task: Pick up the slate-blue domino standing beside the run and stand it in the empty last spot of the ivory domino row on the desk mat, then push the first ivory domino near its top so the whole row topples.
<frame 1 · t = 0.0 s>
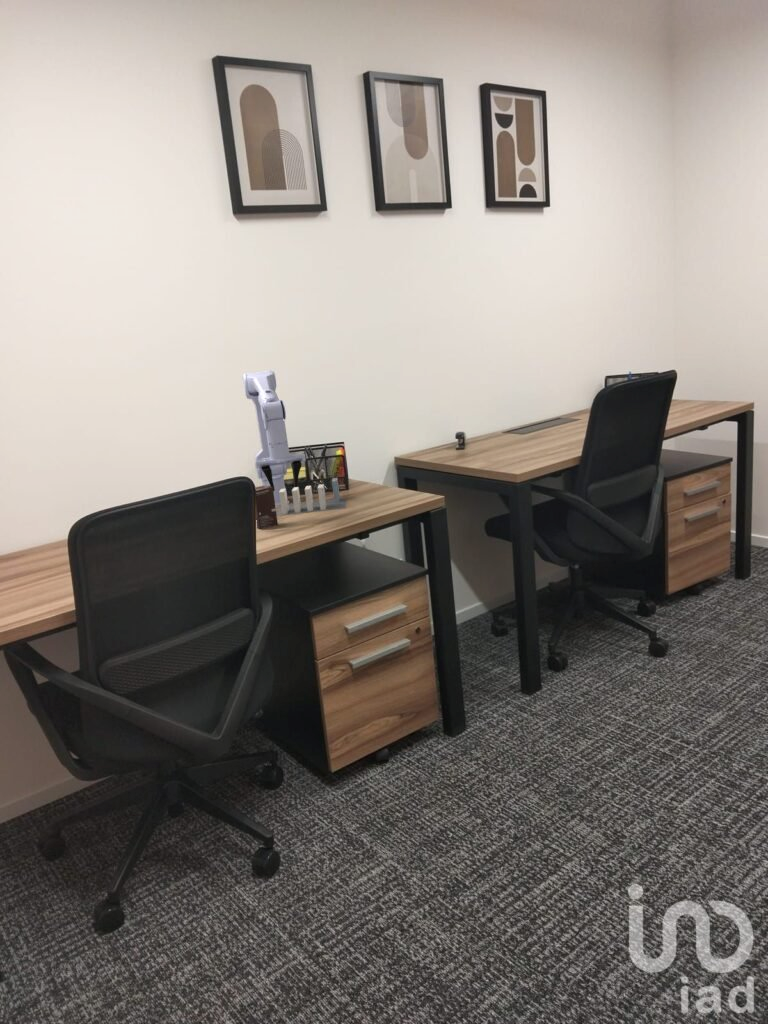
hand: (284, 488, 217), 10 cm above the table, tool pointing down, fingers open, 6 cm apart
tile 2: (298, 510, 231), resting on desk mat
end tile: (337, 500, 239), resting on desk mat
box: (267, 527, 216), on the table, touching gripper
tile 4: (323, 507, 231), resting on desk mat
tile 1: (285, 512, 231), resting on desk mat
tile 3: (310, 509, 231), resting on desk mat
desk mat: (312, 507, 234), on the table
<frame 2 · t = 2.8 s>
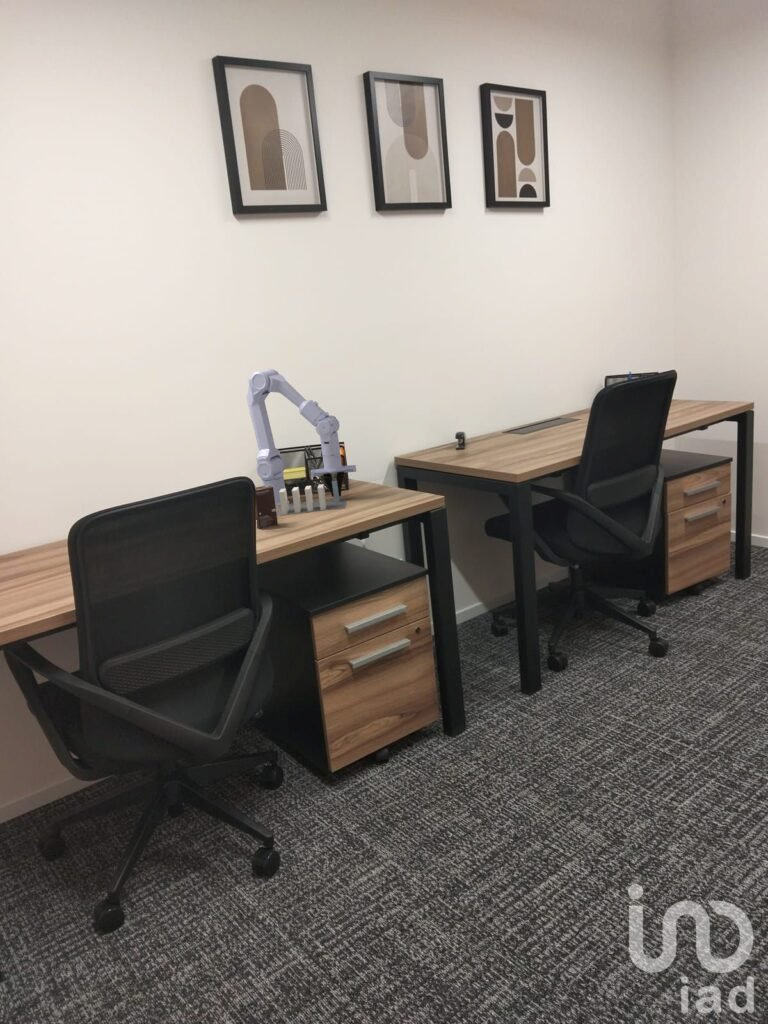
hand: (336, 495, 238), 2 cm above the table, tool pointing down, fingers closed on end tile, 2 cm apart
end tile: (337, 500, 239), resting on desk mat, touching gripper
box: (267, 528, 216), on the table
everything else where it was.
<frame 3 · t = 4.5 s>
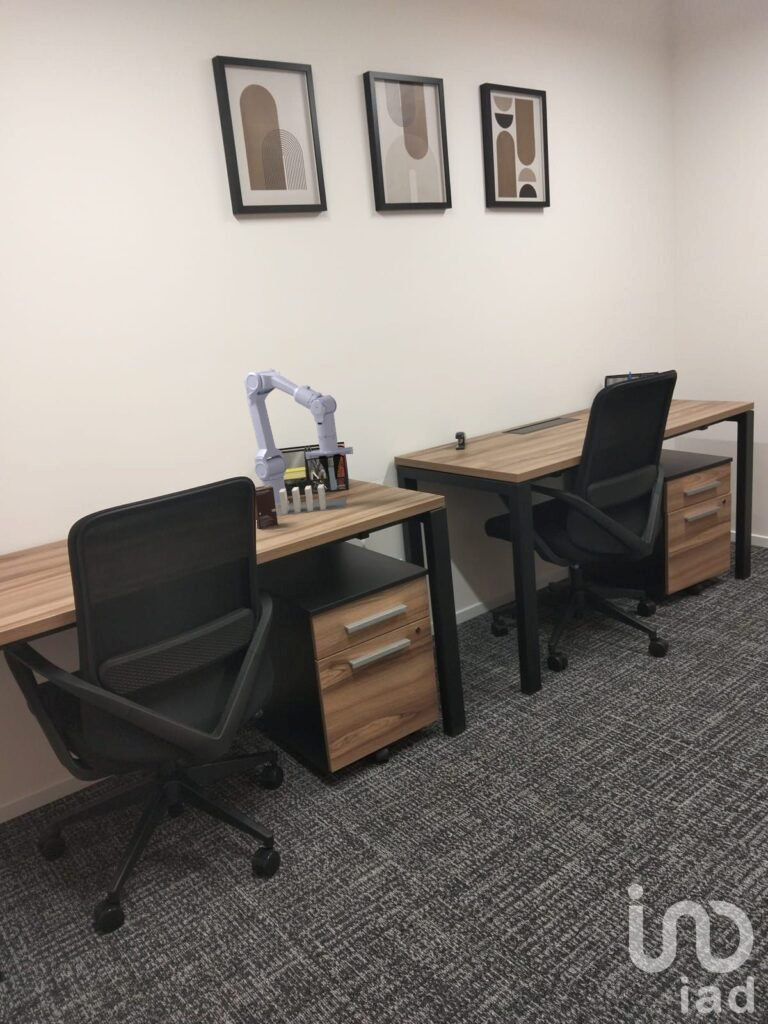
hand: (333, 479, 229), 9 cm above the table, tool pointing down, fingers closed on end tile
end tile: (334, 488, 230), point 6 cm above the table, touching gripper
everything else where it was.
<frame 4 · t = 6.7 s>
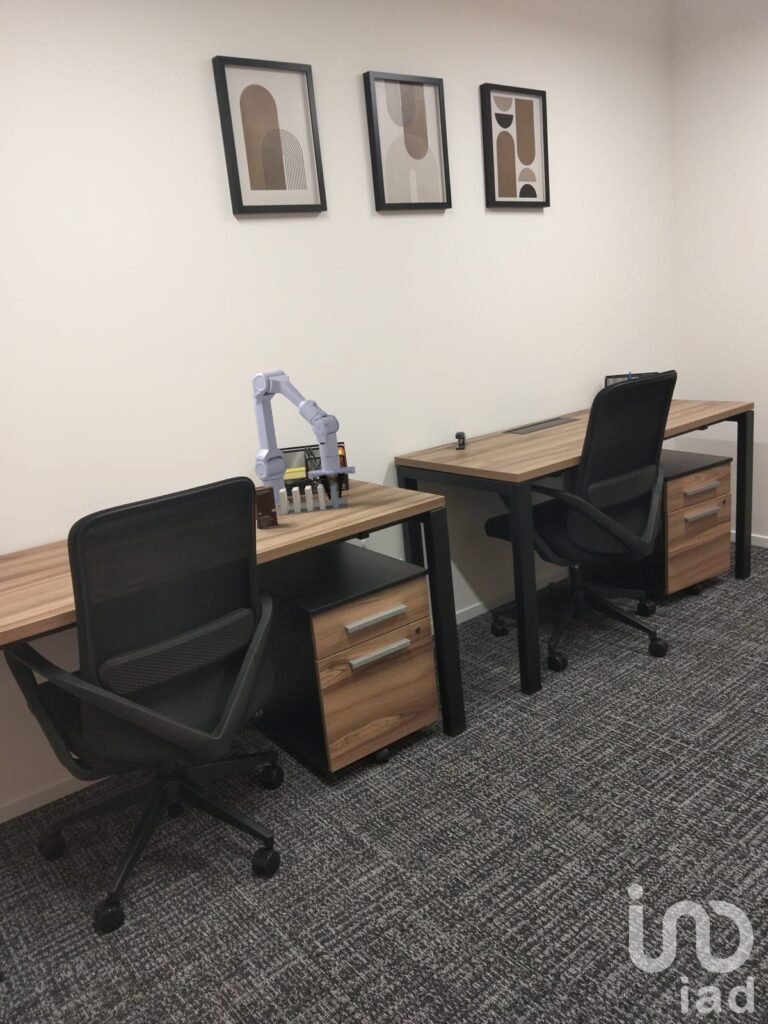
hand: (335, 498, 230), 3 cm above the table, tool pointing down, fingers open, 3 cm apart
end tile: (336, 506, 231), resting on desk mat
tile 4: (323, 507, 231), resting on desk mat, touching gripper
everything else where it was.
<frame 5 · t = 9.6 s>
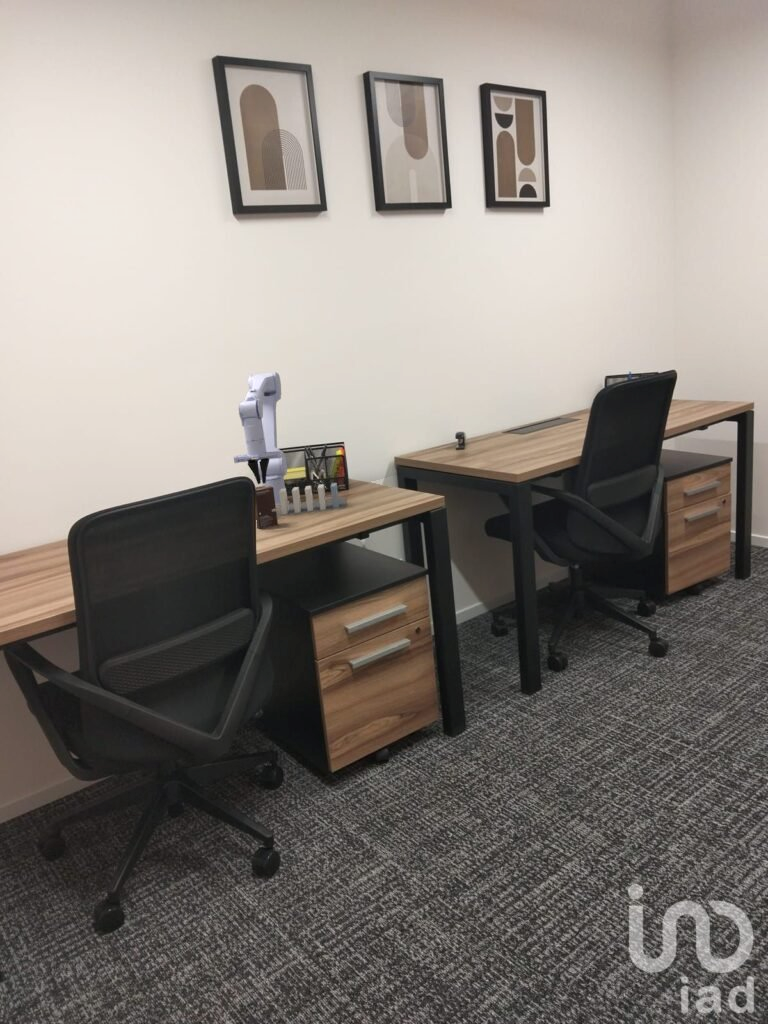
hand: (261, 483, 228), 10 cm above the table, tool pointing down, fingers closed
tile 4: (323, 507, 231), resting on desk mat
everything else where it was.
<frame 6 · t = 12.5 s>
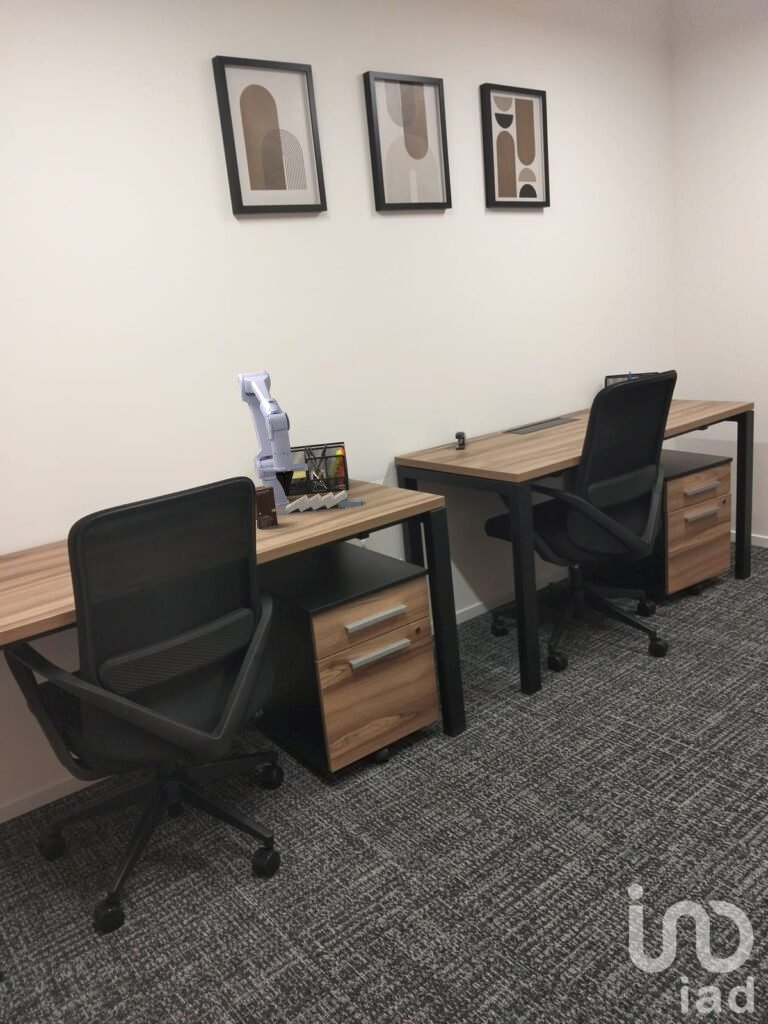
hand: (288, 495, 230), 6 cm above the table, tool pointing down, fingers closed
tile 2: (300, 508, 231), point 1 cm above the table, tilted 67°, touching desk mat, tile 1, tile 3
end tile: (339, 503, 230), point 1 cm above the table, tilted 95°, touching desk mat, tile 4
tile 4: (326, 505, 231), point 1 cm above the table, tilted 65°, touching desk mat, end tile, tile 3
tile 1: (287, 509, 231), point 1 cm above the table, tilted 67°, touching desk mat, tile 2
tile 3: (313, 506, 231), point 1 cm above the table, tilted 66°, touching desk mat, tile 2, tile 4
everything else where it was.
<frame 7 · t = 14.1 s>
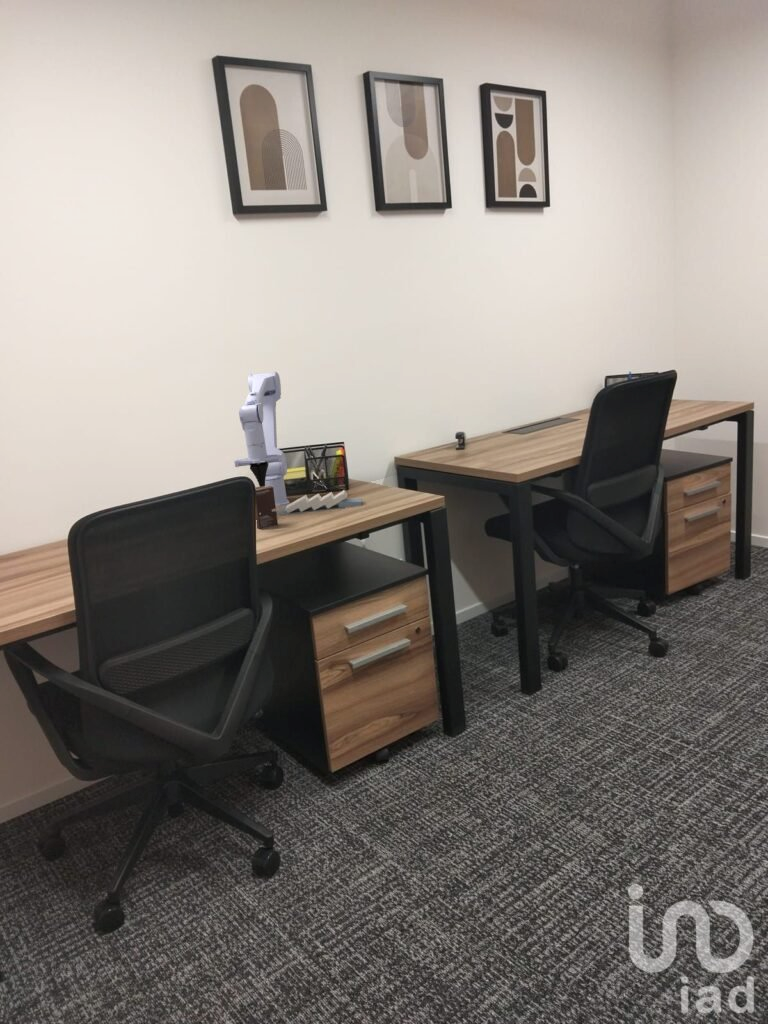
hand: (262, 487, 229), 9 cm above the table, tool pointing down, fingers closed
nothing on the table moved.
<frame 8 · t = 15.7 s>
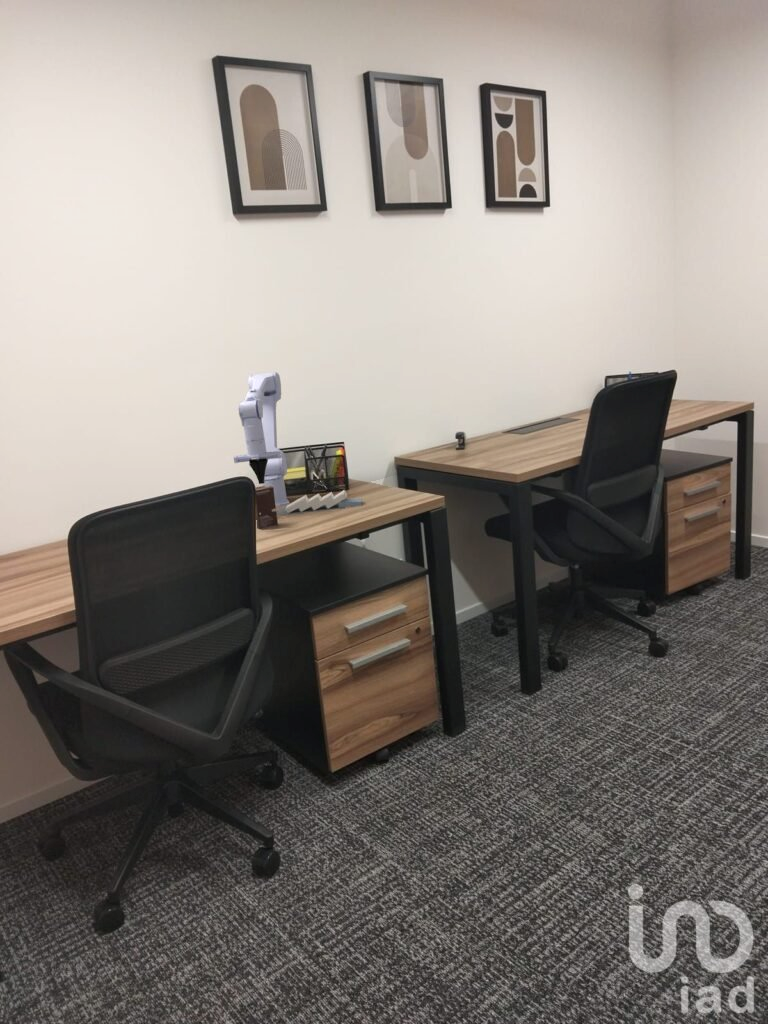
hand: (261, 483, 228), 10 cm above the table, tool pointing down, fingers closed
nothing on the table moved.
at the end: end tile tilted 95°; tile 1 tilted 67°; end tile 3.9 cm from the tile 4 (horizontally) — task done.
